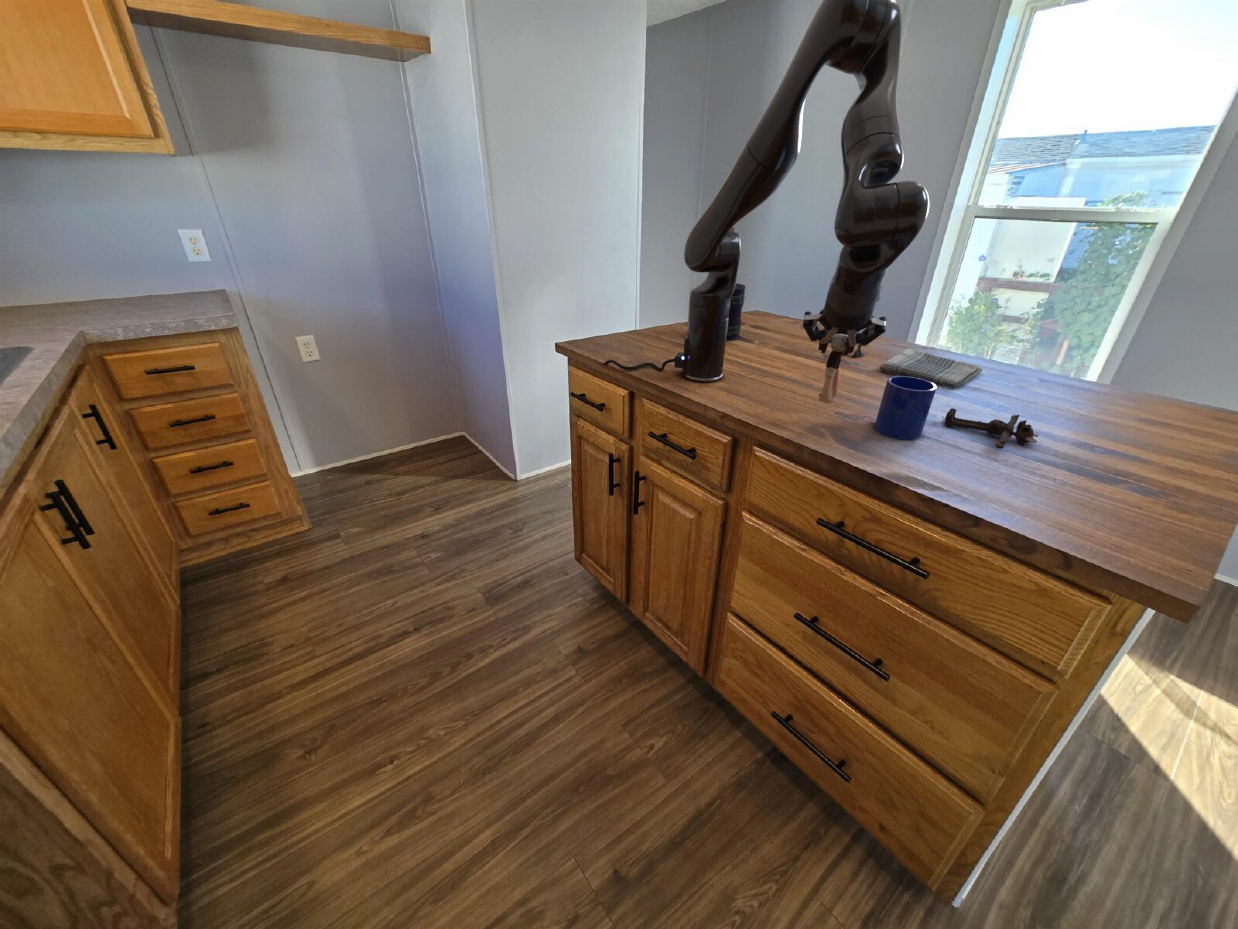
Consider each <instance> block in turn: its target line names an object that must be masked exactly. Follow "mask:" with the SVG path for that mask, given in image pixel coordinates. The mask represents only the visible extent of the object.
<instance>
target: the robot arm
mask: <svg viewBox="0 0 1238 929" xmlns="http://www.w3.org/2000/svg"><path fill="white" fill-rule="evenodd" d="M901 11H902V10H901V8H900V4H899V3H898V1H897V0H822V1H821V3H820V4H819V6H818V8H817V10H816V12H815V13H814V15H813V17H812V19H811V21H810V23H809V25H808V26H807V29H806V31H805V33H804V35H803V38H802V40H801V41H800V43H799V46H798V47H797V50H796V51H795V54H794V56H793V58H792V60H791V62H790V64H789V66H788V68H787V70H786V72H785V74H784V76H783V78H782V80H781V82H780V83H779V86H778V88H777V89H776V91H775V94H774V95H773V97H772V99H771V100H770V102H769V103H768V105H767V107H766V109H765V111H764V113H763V114H762V115H761V118H760V119H759V121H758V122H757V124H756V126H755V128H753V131H752V133H751V134H750V136H749V137H748V139H747V141H746V143H745V144H744V146H743V148H742V150H740V153H739V155H738V157H736V160H735V162H734V164H733V165H732V168H731V170H730V171H729V173H728V175H727V176H726V178H725V179H724V182H723V183H722V185H721V186H720V188H719V190H718V191H717V193H716V194H715V196H714V198H713V199H712V201H711V202H710V204H709V205H708V207H707V208H706V210H705V211H704V212H703V213H702V215H701V216H700V218H699V219H698V220H697V222H696V223H695V224H694V225H693V227H692V229H691V231H690V232H689V234H688V236H687V238H686V241H685V243H684V248H683V260H684V264H685V266H686V267H687V268H688V269H689V270H690V271H691V272H693V273H694V272H695V273H700V274H701V273H702V274H704V273H707V275H706V277H705V279H704V280H703V281H702V282H700V283H699V284H698V285H696V286H695V287H693V288H691V290H690V291H689V298H688V299H689V300H688V313H687V326H686V336H685V337H684V341H683V352H682V351H679V352H678V353H676V355H674V358H671V359H666V360H665V361H664V362H662V364H661V367H659V366H658V365H656V364H655V363H652V362H643V363H640V364H636V365H632V366H626V365H622V364H621V363H619V362H618V361H616V360H615V359H607V360H606V361H604V363H603V365H605V366H607V365H609V364H614V365H615V366H617V367H618V368H620V369H622V370H626V371H631V370H636V369H639V368H642V367H651V368H654V369H655V370H656V371H659V372H661V371H664V370H665V368H666V365H668V364H669V363H670V364H671V363H674V365H673V368H675V369H681V378H685V379H688V380H690V381H694V382H700V383H702V382H703V383H711V382H712V383H713V382H717V381H720V380H722V379H723V376H724V366H725V362H726V359H725V355H726V354H725V353H726V345H727V341H726V337H727V328H728V318H729V309H730V300H731V296H732V294H733V292H734V290H735V285H736V284H737V280H738V272H739V265H740V260H741V252H742V243H741V242H742V241H741V237H740V233H739V232H738V230H737V229H736V228H735V225H737V223H738V222H740V221H741V220H742V219H743V218H744V217H746V216H747V215H749V214H750V213H752V212H753V211H754V210H755V209H757V208H758V207H759V206H761V205H763V203H765V202H766V201H767V200H769V199H770V198H771V197H772V195H774V193H775V192H776V191H777V190H778V189H779V188H780V186H781V185H782V183H783V182H784V181H785V179H786V178H787V176H788V175H789V173H790V171H791V170H792V169H793V167H794V166H795V164H796V163H797V161H798V159H799V156H800V153H801V148H802V141H803V132H804V129H803V128H804V115H805V107H806V102H807V98H808V95H809V93H810V90H811V89H812V86H813V84H814V82H815V81H816V78H817V77H818V75H819V73H820V72H821V70H822V69H823V68H824V67H825V66H827V67H830V68H832V69H835V70H837V71H838V72H839V71H840V72H842V73H844V74H846V75H852V76H854V78H855V79H856V82H857V86H858V89H859V93H858V95H857V97H856V98H855V99H854V101H853V102H852V104H851V105H850V107H849V108H848V111H847V112H846V114H845V115H844V116H845V117H844V119H843V122H842V126H841V130H840V150H841V157H842V169H843V181H842V188H841V192H840V197H839V200H838V204H837V208H836V212H835V217H834V223H833V231H834V235H835V237H836V239H837V241H838V242H839V243H840V244H841V245H842V248H841V250H840V252H839V254H838V259H837V263H836V266H835V270H834V274H833V275H832V278H831V280H830V283H829V286H828V290H827V295H826V298H825V302H824V306H823V309H821V310H820V311H819V312H818V313H816V314H813V312H812V311H805V312H804V315H803V321H802V327H803V329H804V331H805V333H806V334H807V336H808V338H809V340H810V341H811V342H817V341H819V342H818V351H821V352H820V353H821V354H826V352H827V349H828V346H829V343H828V341H829V340H830V339H832V338H833V336H834V335H835V334H844V335H847V336H848V340H847V341H846V348H845V350H844V353H843V356H848V355H849V354H852V353H853V352H854V351H855V350H854V349H855V348H856V346H857V345H858V344H861V345H862V346H863V347H865V346H868V345H869V344H871V343H872V342H874V341H875V340H876V339H878V338H879V337H880V336H883V334H885V333H886V330H887V322H888V317H886V316H880V317H879V318H875V317H874V314H873V313H874V311H875V310H876V307H877V305H878V302H879V301H880V299H881V294H882V292H883V289H884V283H885V280H886V278H887V275H888V273H889V269H890V268H891V266H892V265H893V264H894V263H895V262H896V261H898V259H899V258H900V257H901V255H902V254H903V253H904V252H905V251H906V250H907V249H908V248H909V247H910V246H911V244H913V242H915V240H916V238H917V237H918V236H919V234H920V232H921V230H922V229H923V227H924V225H925V223H926V221H927V218H928V214H929V210H930V198H929V193H928V191H927V189H926V188H925V187H924V185H923V184H921V183H920V182H918V181H915V180H903V181H895V182H892V181H893V180H894V179H896V177H897V176H898V174H899V173H900V172H901V170H902V167H903V165H904V149H903V148H904V146H903V141H902V133H901V128H900V127H901V126H900V121H899V115H898V114H899V113H898V98H897V97H898V80H899V72H900V58H901V46H902V45H901V42H902V12H901ZM873 317H874V318H873ZM818 323H819V324H820V325H821V326H822V327H823V328H822V329H820V327H819V324H818ZM858 332H859V333H858ZM848 353H849V354H848Z"/></svg>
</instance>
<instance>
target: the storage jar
mask: <svg viewBox="0 0 1238 929" xmlns="http://www.w3.org/2000/svg"><path fill="white" fill-rule="evenodd" d="M745 290H746V285H744V284H741V283H736V285H735V290H734V292H733V294H732V296H731V300H730V309H729V318H728V328H727V337H726V342H731V341H737V340H739V339H740V333H741V328H742V322H743V321H742V318H741V317H742V312H743V307H744V304H745V303H744V301H745V297H746V296H745V293H746V291H745Z"/></svg>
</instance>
